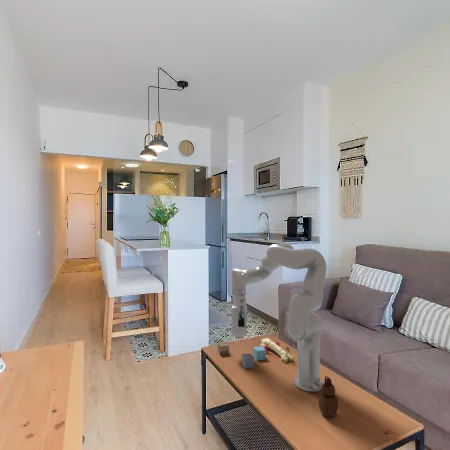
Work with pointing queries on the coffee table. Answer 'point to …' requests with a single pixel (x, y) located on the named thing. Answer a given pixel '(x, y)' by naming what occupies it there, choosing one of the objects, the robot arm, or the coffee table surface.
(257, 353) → the teal block
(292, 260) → the robot arm
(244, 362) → the charcoal block
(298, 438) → the coffee table surface
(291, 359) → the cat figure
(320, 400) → the wooden figurine
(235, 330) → the skincare box
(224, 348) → the walnut block
